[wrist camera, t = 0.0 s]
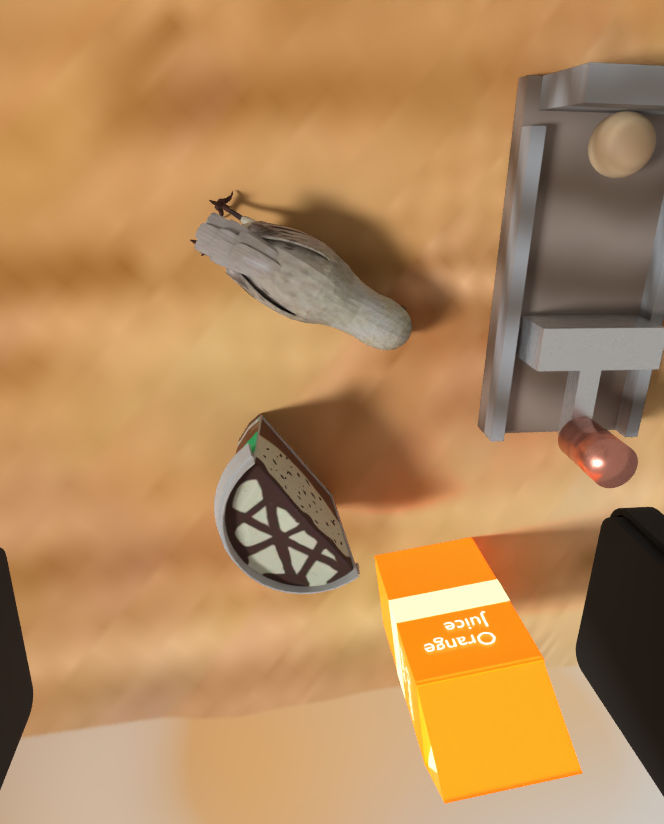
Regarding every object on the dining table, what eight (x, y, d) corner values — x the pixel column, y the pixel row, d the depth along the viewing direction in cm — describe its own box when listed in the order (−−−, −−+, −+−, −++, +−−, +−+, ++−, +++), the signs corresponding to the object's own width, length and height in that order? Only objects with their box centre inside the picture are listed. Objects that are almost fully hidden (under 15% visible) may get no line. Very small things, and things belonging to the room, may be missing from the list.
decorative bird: (380, 357, 48) (402, 390, 41) (185, 252, 43) (173, 269, 36) (418, 295, 46) (447, 319, 39) (220, 180, 42) (214, 183, 35)
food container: (185, 446, 48) (171, 513, 39) (248, 399, 47) (248, 456, 38) (284, 548, 53) (292, 630, 44) (342, 507, 52) (363, 581, 43)
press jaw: (520, 315, 46) (572, 344, 38) (635, 314, 47) (707, 343, 39) (502, 441, 49) (547, 490, 42) (609, 438, 51) (671, 485, 43)
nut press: (518, 78, 41) (573, 61, 35) (686, 85, 43) (770, 70, 36) (477, 426, 51) (513, 467, 44) (616, 422, 52) (672, 462, 45)
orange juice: (373, 554, 54) (438, 758, 36) (472, 535, 55) (587, 726, 36) (382, 625, 57) (447, 846, 39) (476, 606, 58) (584, 816, 39)
